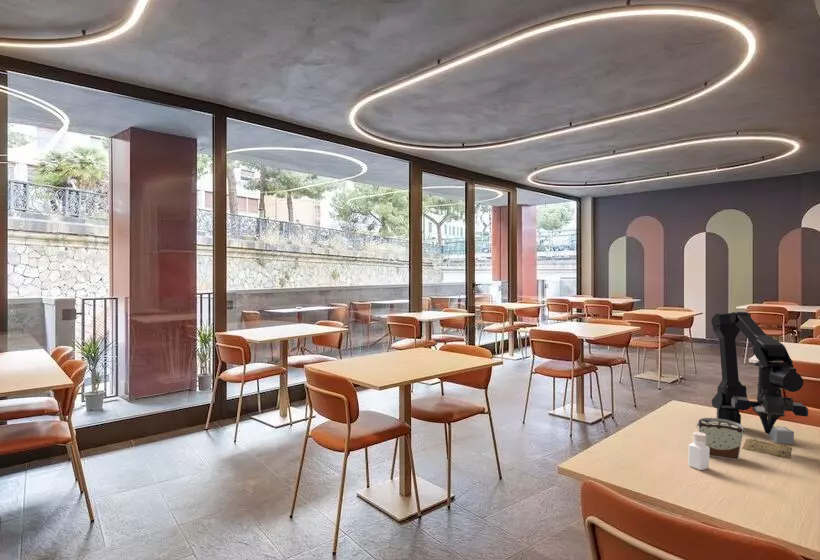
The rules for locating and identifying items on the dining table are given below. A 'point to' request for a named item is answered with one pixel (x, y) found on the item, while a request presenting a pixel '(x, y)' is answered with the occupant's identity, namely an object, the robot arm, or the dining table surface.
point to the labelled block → (781, 435)
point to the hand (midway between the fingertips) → (767, 433)
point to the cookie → (767, 448)
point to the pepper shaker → (698, 452)
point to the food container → (722, 437)
